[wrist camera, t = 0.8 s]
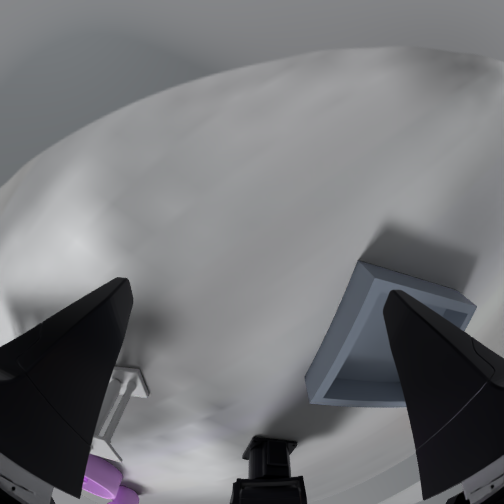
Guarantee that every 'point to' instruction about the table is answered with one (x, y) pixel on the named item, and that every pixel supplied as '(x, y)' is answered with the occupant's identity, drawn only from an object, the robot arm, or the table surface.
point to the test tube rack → (127, 385)
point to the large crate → (372, 339)
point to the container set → (107, 482)
